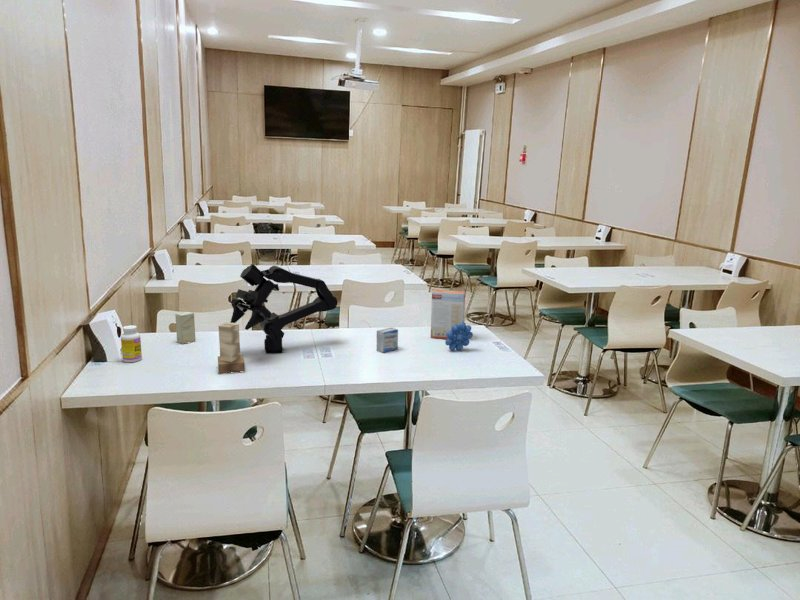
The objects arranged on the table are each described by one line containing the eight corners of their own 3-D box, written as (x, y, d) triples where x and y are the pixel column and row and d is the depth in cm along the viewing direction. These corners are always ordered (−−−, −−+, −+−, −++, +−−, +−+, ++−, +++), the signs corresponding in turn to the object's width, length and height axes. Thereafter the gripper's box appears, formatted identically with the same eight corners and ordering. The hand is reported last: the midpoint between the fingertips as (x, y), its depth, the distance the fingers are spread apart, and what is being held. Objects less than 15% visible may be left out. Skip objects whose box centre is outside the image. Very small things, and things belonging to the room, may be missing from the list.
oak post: (229, 356, 216) (227, 322, 213) (240, 358, 214) (238, 323, 211) (220, 360, 212) (218, 325, 209) (231, 362, 210) (229, 326, 207)
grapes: (468, 346, 246) (469, 319, 243) (473, 351, 240) (475, 323, 237) (441, 347, 243) (442, 320, 241) (446, 353, 237) (448, 324, 234)
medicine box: (383, 353, 235) (383, 332, 233) (376, 350, 238) (376, 330, 236) (397, 349, 240) (398, 329, 238) (390, 346, 243) (391, 326, 241)
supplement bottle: (136, 363, 217) (133, 329, 214) (119, 362, 217) (116, 329, 214) (145, 357, 223) (142, 324, 220) (128, 356, 224) (125, 324, 221)
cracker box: (463, 337, 259) (466, 290, 254) (462, 341, 253) (464, 293, 249) (432, 334, 262) (434, 288, 257) (430, 338, 256) (431, 291, 252)
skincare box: (182, 344, 240) (180, 315, 237) (176, 342, 242) (174, 313, 239) (196, 341, 244) (194, 312, 242) (190, 338, 247) (188, 311, 244)
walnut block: (243, 364, 219) (242, 354, 219) (245, 372, 211) (244, 362, 210) (218, 366, 217) (217, 356, 216) (218, 375, 208) (218, 364, 207)
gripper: (233, 277, 226) (209, 310, 221) (264, 284, 215) (239, 319, 209) (251, 294, 234) (228, 326, 228) (281, 302, 223) (258, 336, 217)
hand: (238, 326), depth 220 cm, fingers open, 9 cm apart
